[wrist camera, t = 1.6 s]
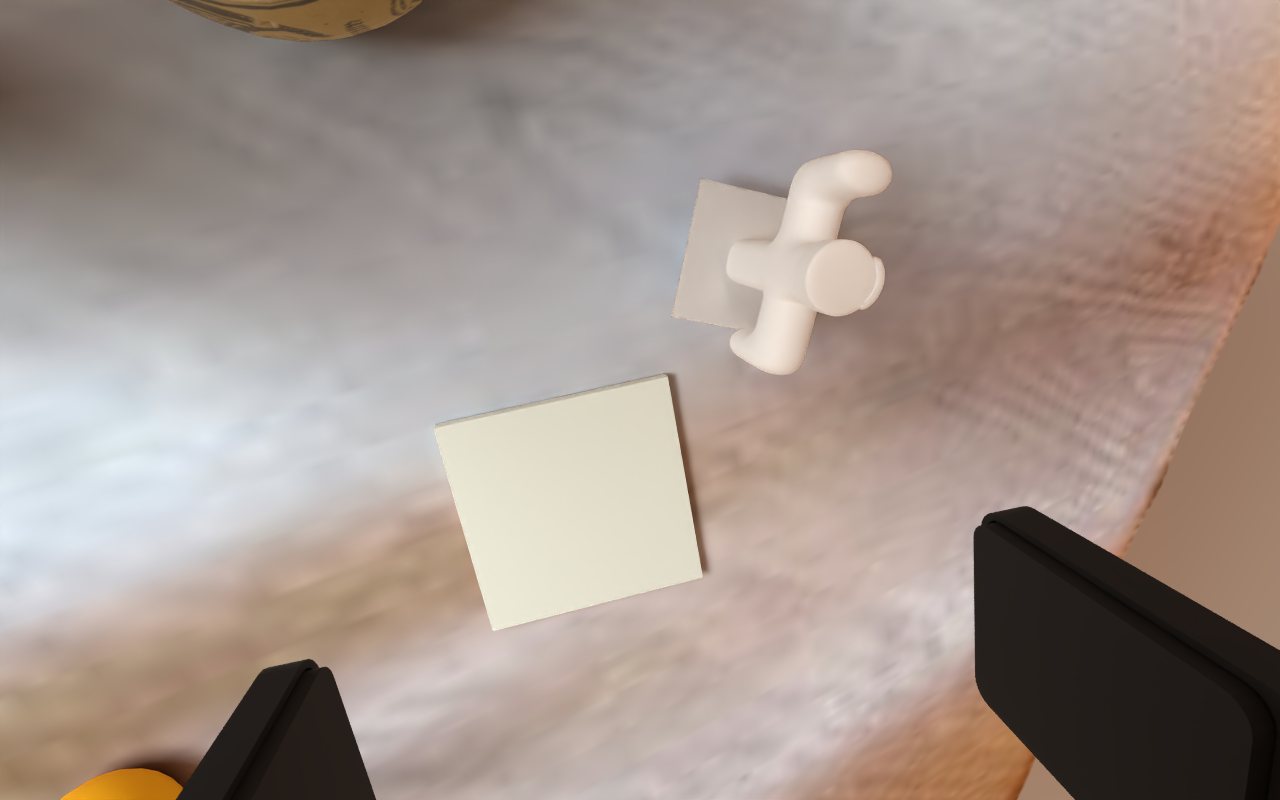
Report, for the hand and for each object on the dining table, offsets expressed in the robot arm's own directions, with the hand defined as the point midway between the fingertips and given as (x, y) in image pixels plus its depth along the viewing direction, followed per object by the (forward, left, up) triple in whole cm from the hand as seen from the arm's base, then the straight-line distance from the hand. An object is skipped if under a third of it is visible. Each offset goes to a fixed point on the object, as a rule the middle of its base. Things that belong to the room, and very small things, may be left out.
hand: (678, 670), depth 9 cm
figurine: (-2, +10, -30) cm, 32 cm away
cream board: (+11, -2, -30) cm, 32 cm away
